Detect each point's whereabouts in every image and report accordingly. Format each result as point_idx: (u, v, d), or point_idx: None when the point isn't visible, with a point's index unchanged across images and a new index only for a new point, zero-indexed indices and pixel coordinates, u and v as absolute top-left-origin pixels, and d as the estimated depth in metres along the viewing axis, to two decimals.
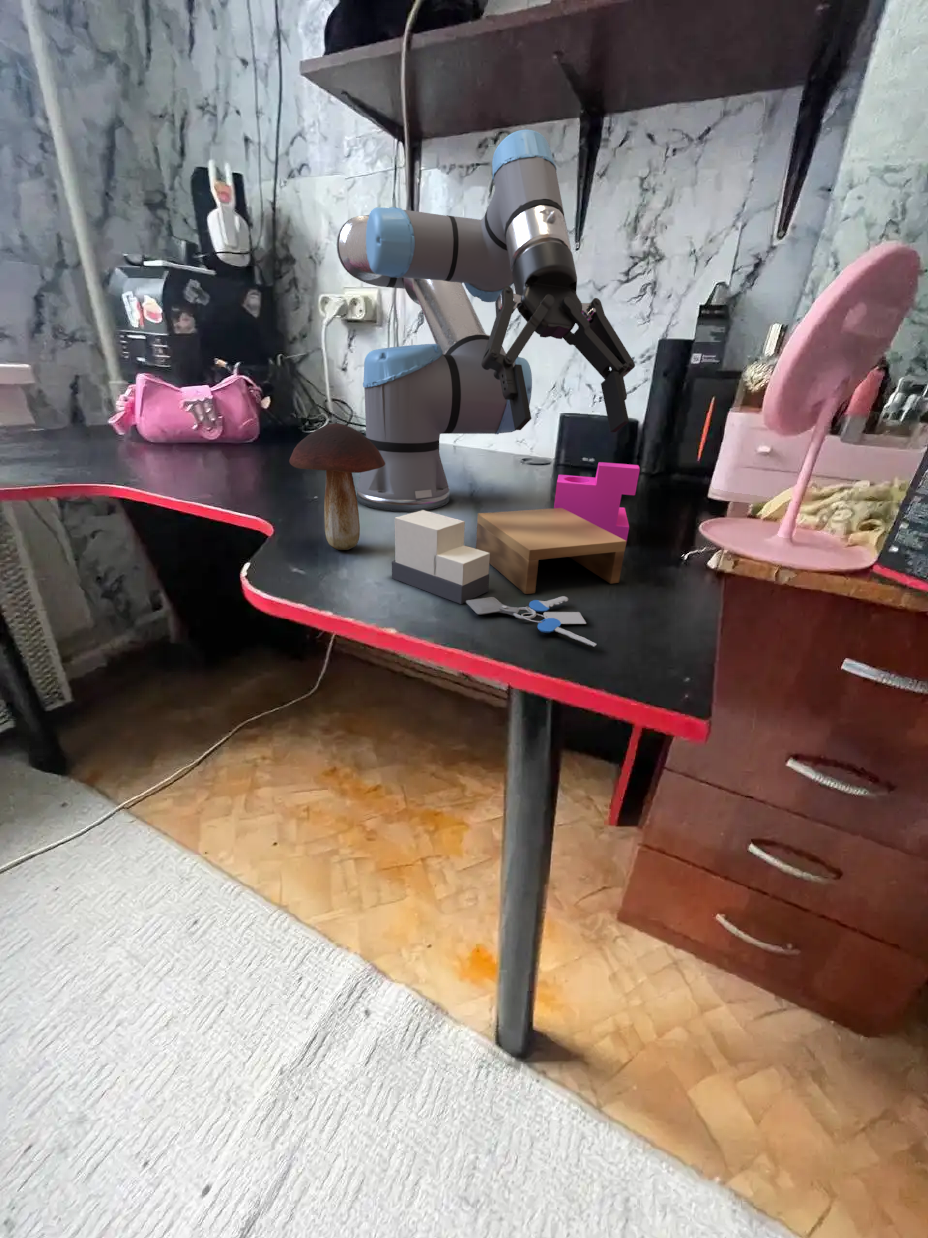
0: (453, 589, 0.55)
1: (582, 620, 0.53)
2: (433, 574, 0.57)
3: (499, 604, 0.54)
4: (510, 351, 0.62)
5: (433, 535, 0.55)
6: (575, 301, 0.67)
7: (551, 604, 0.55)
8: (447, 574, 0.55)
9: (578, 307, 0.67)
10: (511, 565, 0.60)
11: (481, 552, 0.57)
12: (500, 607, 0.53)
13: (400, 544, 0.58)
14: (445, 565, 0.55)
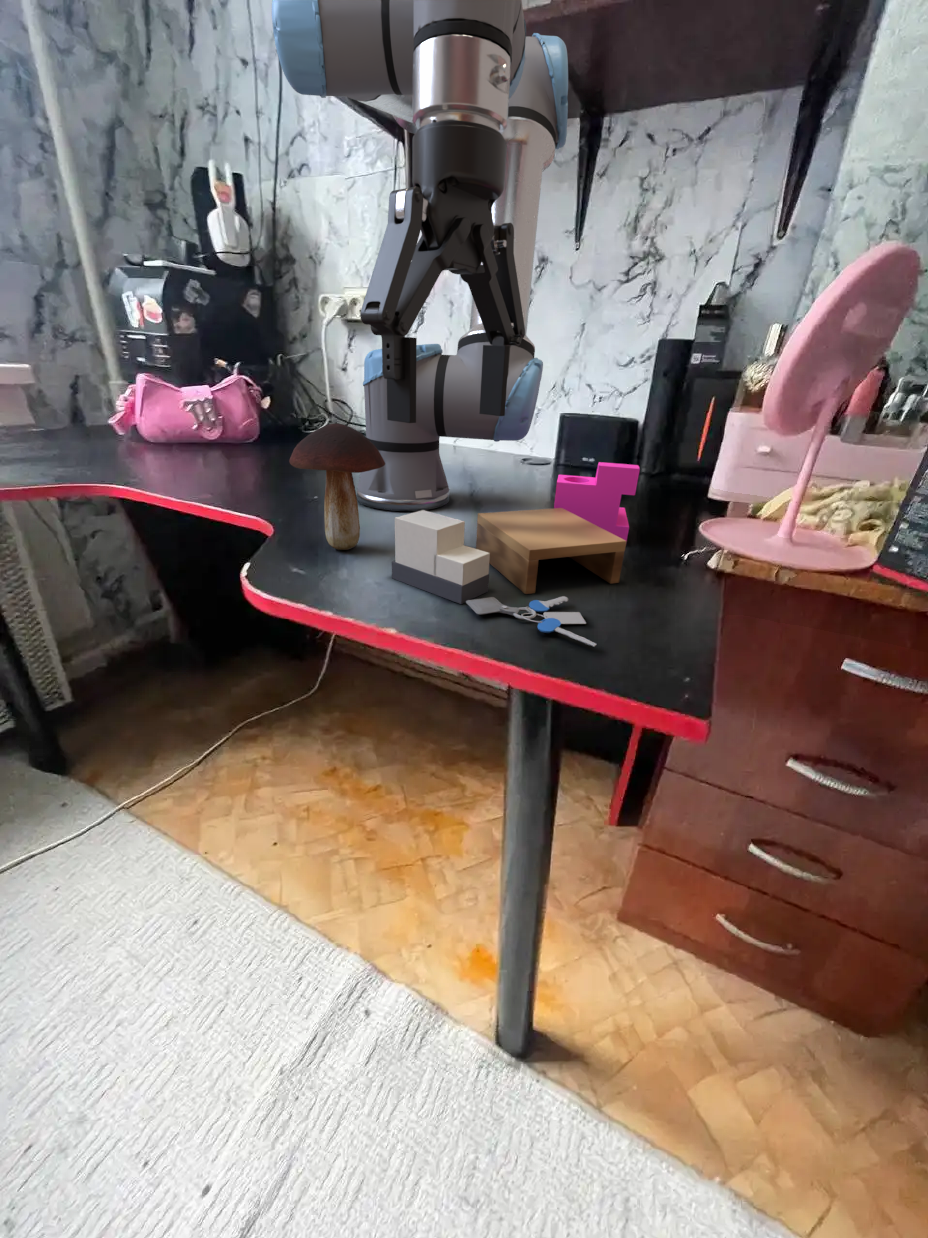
0: (453, 589, 0.55)
1: (582, 620, 0.53)
2: (433, 574, 0.57)
3: (499, 604, 0.54)
4: (406, 313, 0.43)
5: (433, 535, 0.55)
6: (488, 226, 0.47)
7: (551, 604, 0.55)
8: (447, 574, 0.55)
9: None
10: (511, 565, 0.60)
11: (481, 552, 0.57)
12: (500, 607, 0.53)
13: (400, 544, 0.58)
14: (445, 565, 0.55)
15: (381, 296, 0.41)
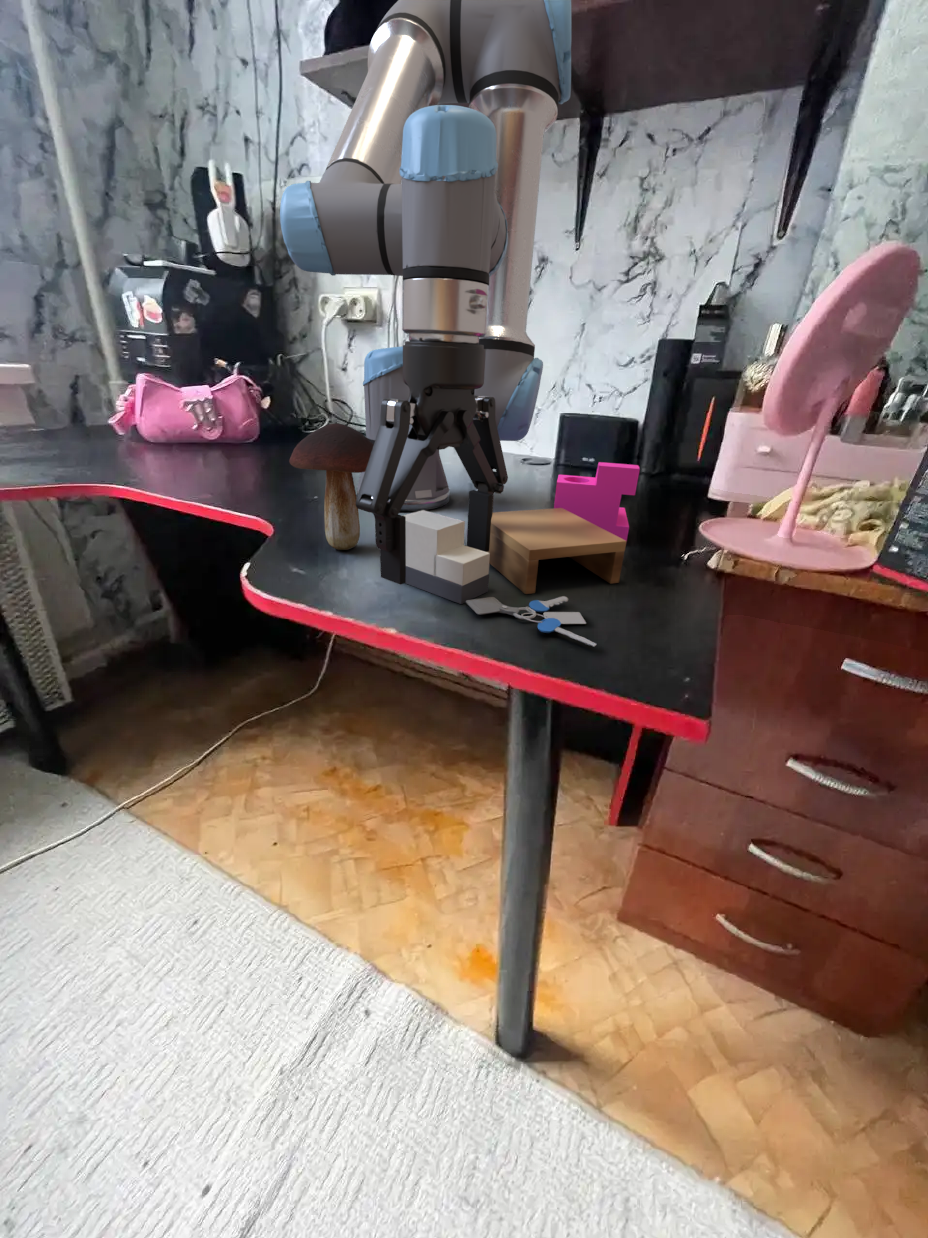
0: (453, 589, 0.55)
1: (582, 620, 0.53)
2: (433, 574, 0.57)
3: (499, 604, 0.54)
4: (396, 500, 0.49)
5: (433, 535, 0.55)
6: (471, 406, 0.53)
7: (551, 604, 0.55)
8: (447, 574, 0.55)
9: (473, 414, 0.54)
10: (511, 565, 0.60)
11: (481, 552, 0.57)
12: (500, 607, 0.53)
13: None
14: (445, 565, 0.55)
15: (373, 491, 0.47)
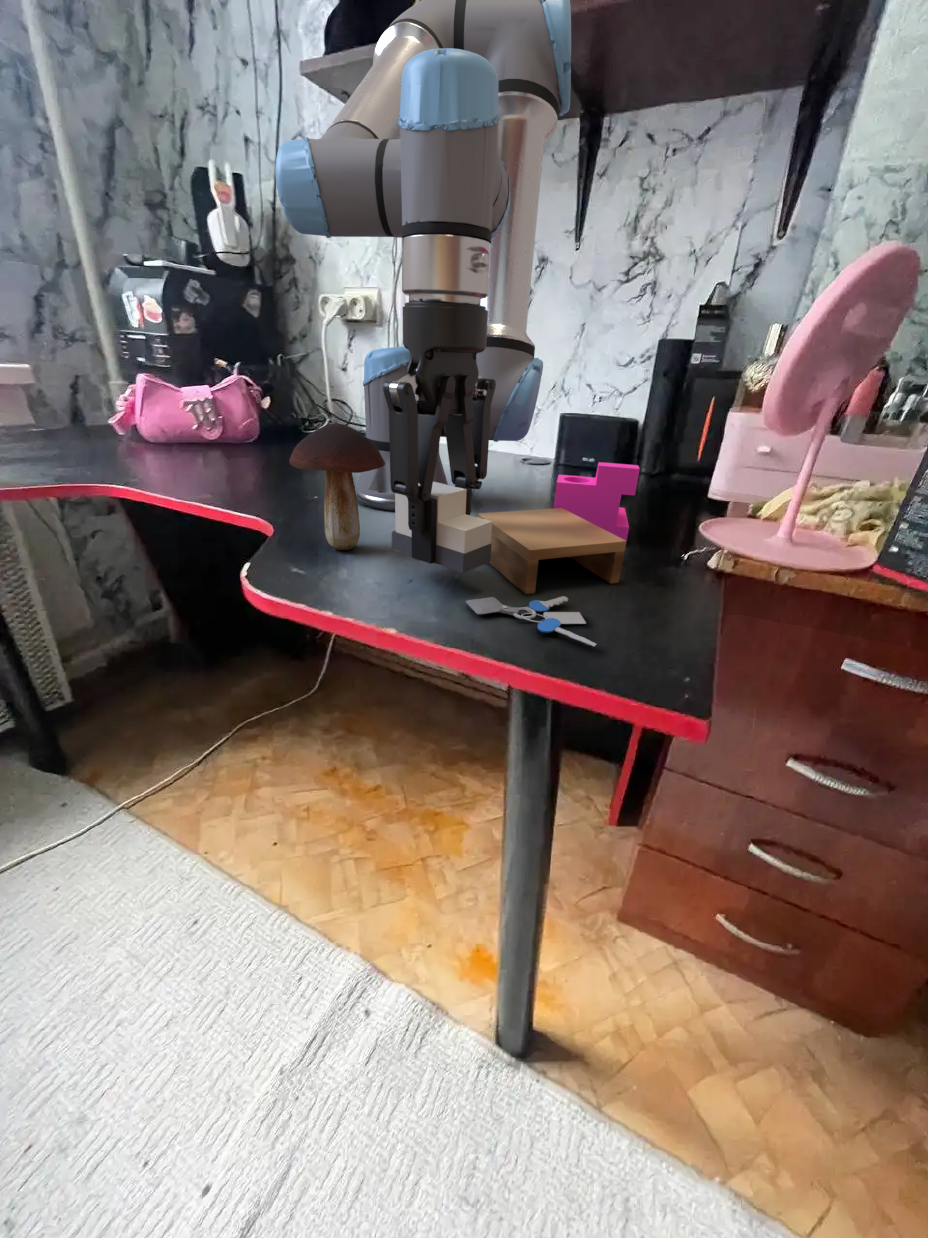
0: (455, 557, 0.54)
1: (582, 620, 0.53)
2: None
3: (499, 604, 0.54)
4: (425, 484, 0.51)
5: None
6: (473, 372, 0.52)
7: (551, 604, 0.55)
8: (448, 542, 0.54)
9: (474, 380, 0.52)
10: (511, 565, 0.60)
11: (483, 520, 0.55)
12: (500, 607, 0.53)
13: (400, 513, 0.57)
14: (446, 533, 0.54)
15: (404, 478, 0.50)
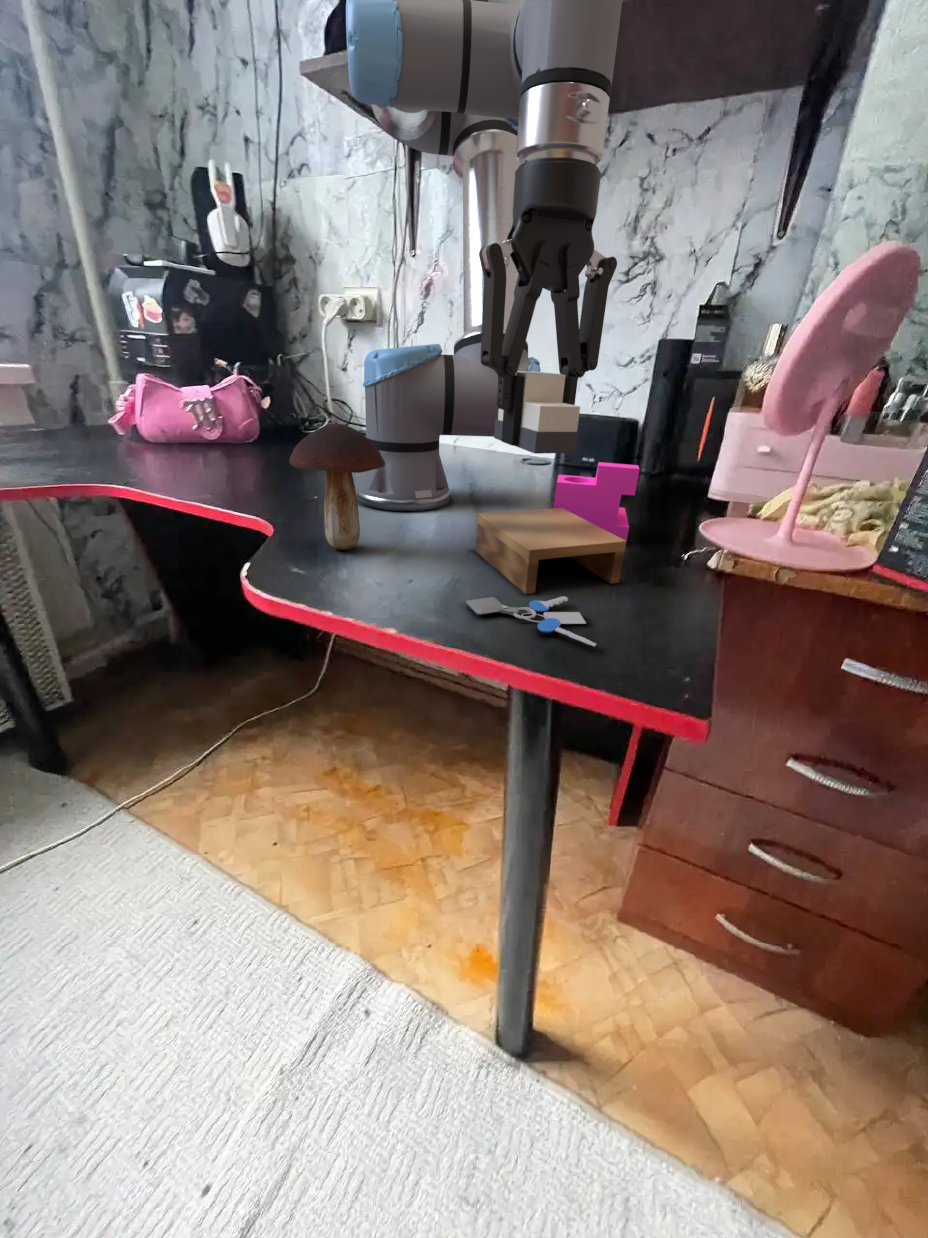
0: (531, 437, 0.54)
1: (582, 620, 0.53)
2: None
3: (499, 604, 0.54)
4: (511, 357, 0.52)
5: None
6: (585, 245, 0.50)
7: (551, 604, 0.55)
8: (528, 421, 0.54)
9: (587, 255, 0.51)
10: (511, 565, 0.60)
11: (571, 405, 0.53)
12: (500, 607, 0.53)
13: None
14: (528, 412, 0.54)
15: (488, 346, 0.52)
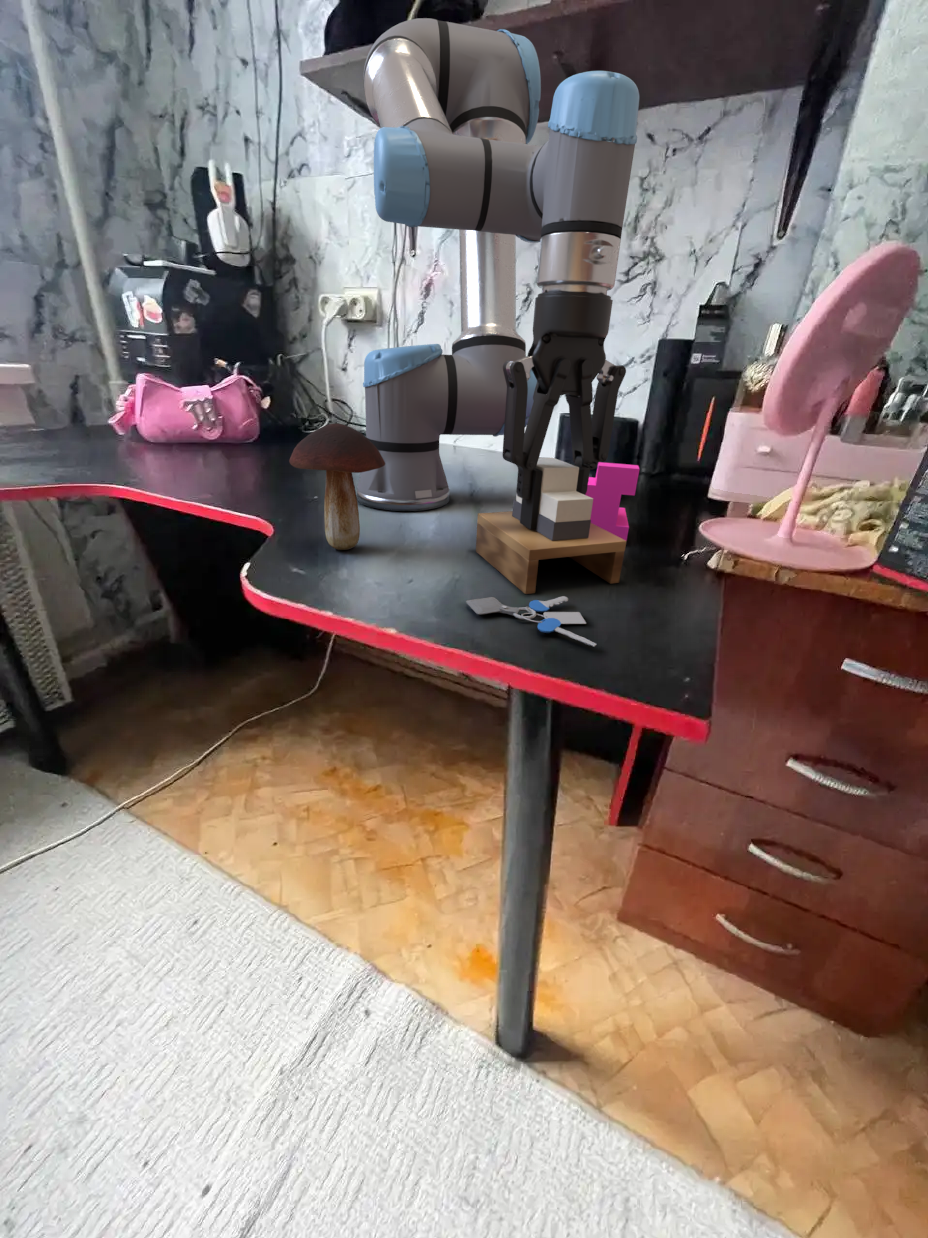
0: (548, 525, 0.59)
1: (582, 620, 0.53)
2: None
3: (499, 604, 0.54)
4: (531, 455, 0.58)
5: None
6: (598, 357, 0.56)
7: (551, 604, 0.55)
8: (546, 511, 0.59)
9: (599, 365, 0.56)
10: (511, 565, 0.60)
11: (585, 497, 0.59)
12: (500, 607, 0.53)
13: None
14: (546, 502, 0.59)
15: (510, 446, 0.57)
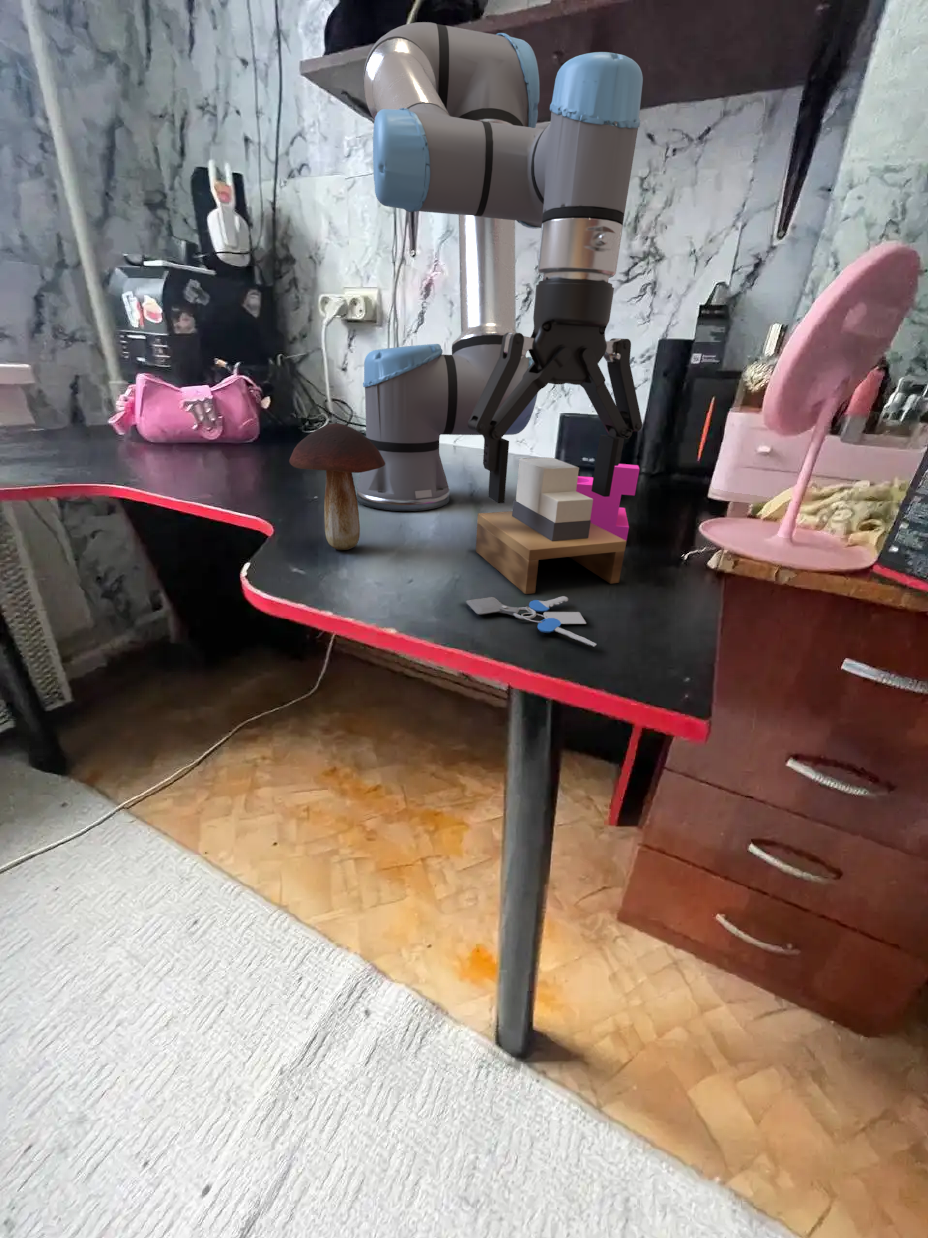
0: (548, 526, 0.59)
1: (582, 620, 0.53)
2: (537, 512, 0.61)
3: (499, 604, 0.54)
4: (500, 424, 0.55)
5: (541, 474, 0.59)
6: (599, 346, 0.56)
7: (551, 604, 0.55)
8: (546, 511, 0.59)
9: (600, 354, 0.56)
10: (511, 565, 0.60)
11: (585, 497, 0.59)
12: (500, 607, 0.53)
13: (520, 483, 0.64)
14: (545, 503, 0.59)
15: (479, 413, 0.55)
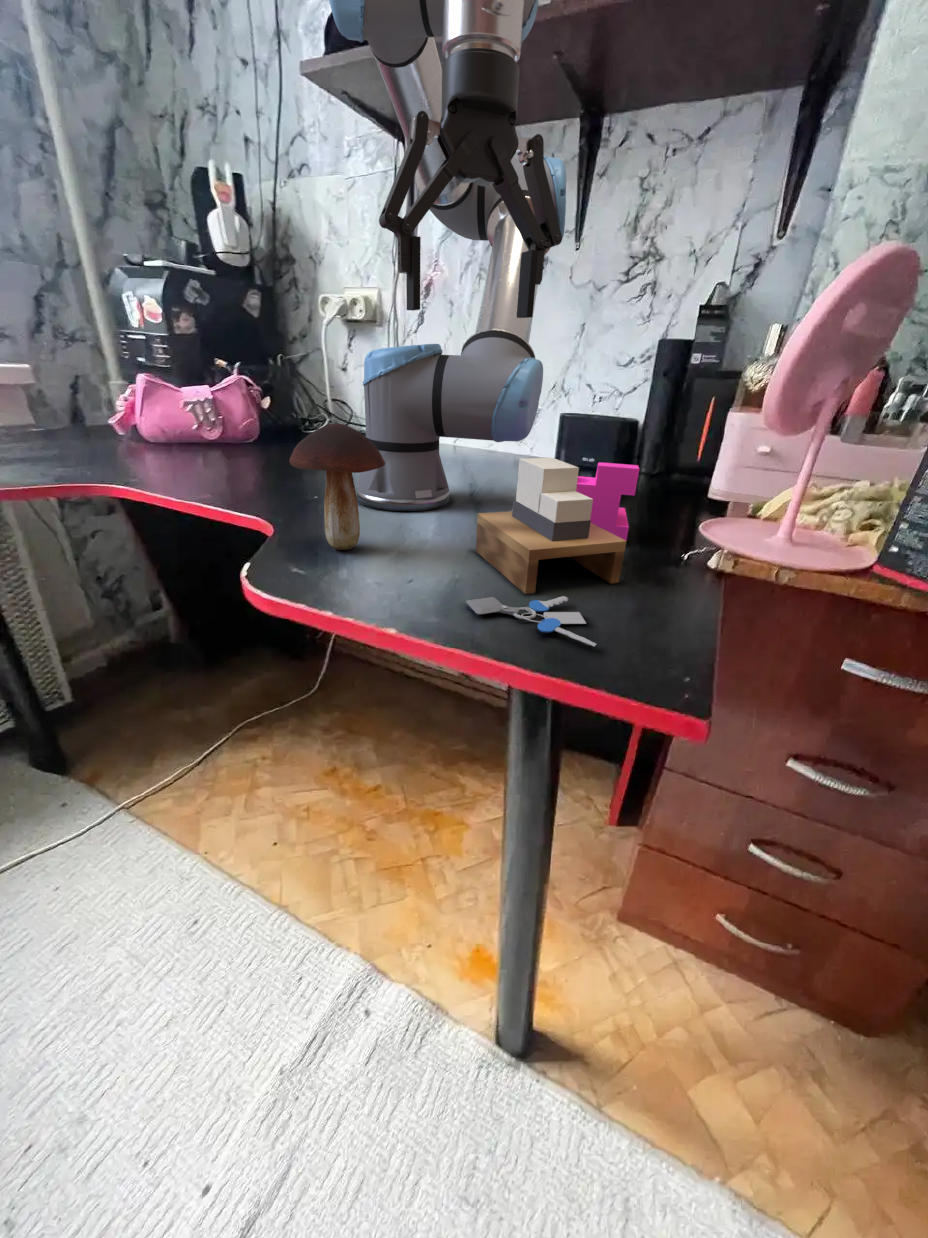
0: (548, 526, 0.59)
1: (582, 620, 0.53)
2: (537, 512, 0.61)
3: (499, 604, 0.54)
4: (410, 216, 0.55)
5: (541, 474, 0.59)
6: (509, 138, 0.55)
7: (551, 604, 0.55)
8: (546, 511, 0.59)
9: (511, 148, 0.56)
10: (511, 565, 0.60)
11: (585, 497, 0.59)
12: (500, 607, 0.53)
13: (520, 483, 0.64)
14: (545, 503, 0.59)
15: (388, 202, 0.54)
